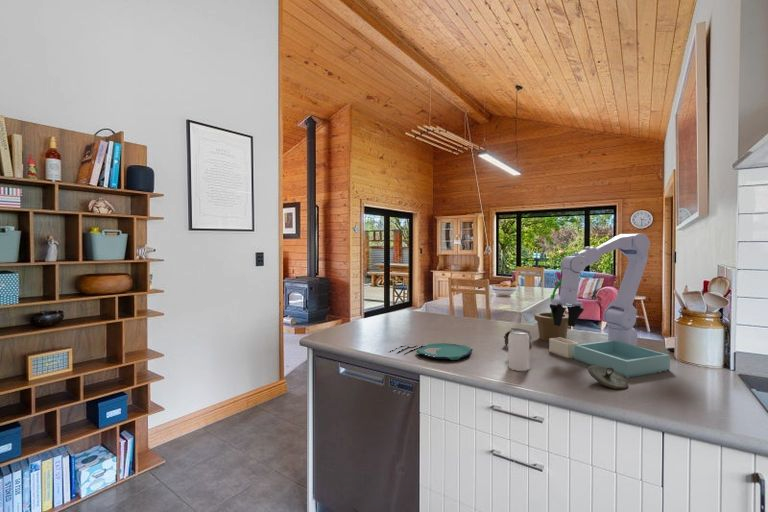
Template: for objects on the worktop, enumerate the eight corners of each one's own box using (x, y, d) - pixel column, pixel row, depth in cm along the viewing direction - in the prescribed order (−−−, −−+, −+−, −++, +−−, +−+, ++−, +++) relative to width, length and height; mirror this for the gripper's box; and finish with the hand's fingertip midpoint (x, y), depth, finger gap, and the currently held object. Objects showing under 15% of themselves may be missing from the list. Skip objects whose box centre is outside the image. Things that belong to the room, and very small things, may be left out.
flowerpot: (577, 343, 155) (577, 269, 154) (542, 343, 155) (541, 269, 154) (561, 334, 169) (561, 266, 168) (529, 335, 169) (528, 267, 168)
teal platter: (459, 366, 130) (459, 359, 130) (385, 354, 146) (385, 348, 146) (479, 352, 146) (479, 346, 146) (411, 343, 163) (411, 337, 163)
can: (519, 373, 121) (519, 335, 121) (504, 367, 127) (504, 331, 127) (533, 369, 124) (533, 332, 124) (518, 364, 130) (518, 329, 130)
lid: (600, 375, 118) (600, 359, 118) (635, 384, 110) (635, 367, 110) (580, 382, 112) (580, 365, 112) (616, 393, 104) (616, 375, 104)
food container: (535, 366, 128) (535, 336, 128) (515, 365, 129) (515, 335, 129) (528, 355, 140) (528, 328, 140) (511, 354, 141) (511, 327, 141)
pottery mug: (533, 352, 145) (522, 334, 145) (510, 360, 150) (499, 342, 150) (534, 337, 156) (524, 320, 156) (513, 344, 161) (503, 328, 160)
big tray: (613, 353, 140) (613, 340, 140) (669, 370, 121) (669, 355, 121) (574, 359, 134) (574, 345, 134) (626, 378, 115) (626, 361, 115)
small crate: (560, 350, 145) (560, 337, 145) (579, 357, 137) (579, 343, 137) (549, 351, 144) (549, 338, 144) (567, 358, 135) (567, 344, 135)
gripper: (572, 288, 146) (568, 324, 146) (546, 285, 140) (541, 322, 140) (590, 291, 140) (584, 328, 140) (562, 288, 133) (557, 327, 133)
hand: (564, 325), depth 139 cm, fingers open, 7 cm apart
